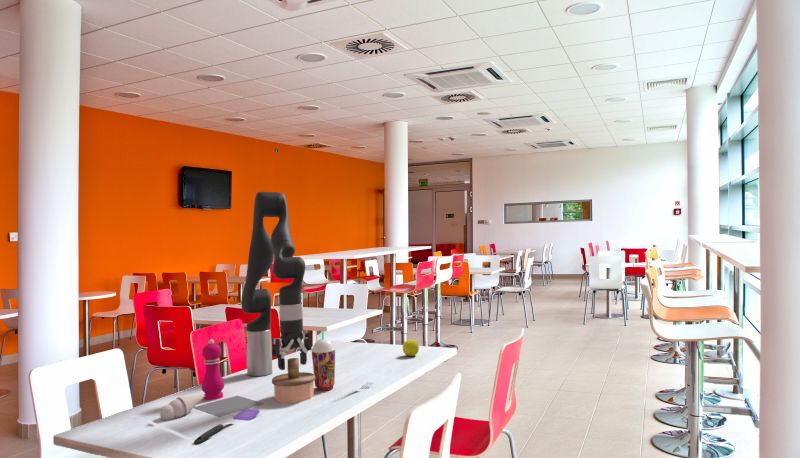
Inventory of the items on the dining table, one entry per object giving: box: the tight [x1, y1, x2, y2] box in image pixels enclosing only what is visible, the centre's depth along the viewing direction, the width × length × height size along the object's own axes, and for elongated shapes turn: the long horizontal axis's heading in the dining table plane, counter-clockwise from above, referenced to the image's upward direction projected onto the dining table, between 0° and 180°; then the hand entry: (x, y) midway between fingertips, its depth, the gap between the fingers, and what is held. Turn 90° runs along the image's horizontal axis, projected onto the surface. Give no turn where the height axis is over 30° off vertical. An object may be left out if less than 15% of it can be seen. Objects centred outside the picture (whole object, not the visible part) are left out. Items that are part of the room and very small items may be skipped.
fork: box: [330, 381, 374, 403], centre depth 189 cm, size 3×24×2 cm, turn 147°
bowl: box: [273, 381, 315, 404], centre depth 187 cm, size 12×12×6 cm
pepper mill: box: [201, 338, 225, 401], centre depth 191 cm, size 7×7×20 cm
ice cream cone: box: [159, 395, 206, 421], centre depth 174 cm, size 6×6×15 cm
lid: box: [271, 357, 315, 386], centre depth 188 cm, size 14×14×7 cm
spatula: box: [193, 408, 260, 445], centre depth 160 cm, size 24×7×2 cm, turn 157°
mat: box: [193, 395, 266, 418], centre depth 181 cm, size 16×16×1 cm
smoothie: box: [310, 330, 336, 392], centre depth 199 cm, size 8×8×20 cm
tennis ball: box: [402, 339, 420, 357], centre depth 246 cm, size 7×7×7 cm
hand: (292, 366), depth 188 cm, fingers open, 8 cm apart
